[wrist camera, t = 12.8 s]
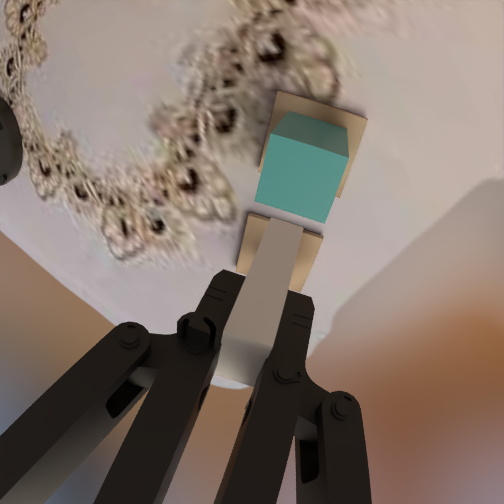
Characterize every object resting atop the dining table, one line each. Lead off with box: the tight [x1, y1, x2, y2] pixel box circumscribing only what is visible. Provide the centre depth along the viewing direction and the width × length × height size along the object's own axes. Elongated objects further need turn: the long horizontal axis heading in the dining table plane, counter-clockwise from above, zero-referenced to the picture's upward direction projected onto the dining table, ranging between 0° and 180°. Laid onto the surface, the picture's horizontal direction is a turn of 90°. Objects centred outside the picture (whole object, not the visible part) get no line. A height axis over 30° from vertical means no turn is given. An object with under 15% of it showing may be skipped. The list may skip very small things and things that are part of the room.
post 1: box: [258, 91, 368, 198], centre depth 25 cm, size 8×8×7 cm
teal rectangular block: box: [255, 111, 349, 224], centre depth 24 cm, size 5×5×8 cm
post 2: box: [236, 213, 323, 293], centre depth 33 cm, size 8×8×7 cm
